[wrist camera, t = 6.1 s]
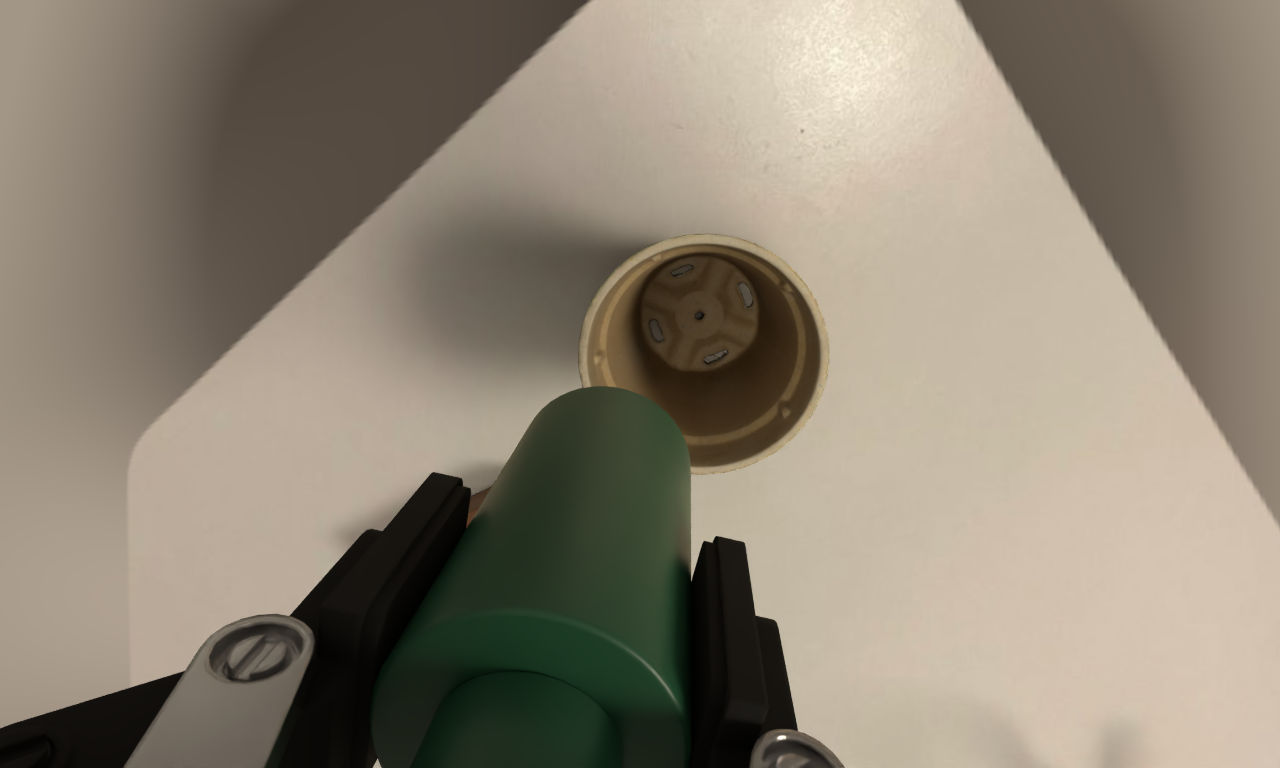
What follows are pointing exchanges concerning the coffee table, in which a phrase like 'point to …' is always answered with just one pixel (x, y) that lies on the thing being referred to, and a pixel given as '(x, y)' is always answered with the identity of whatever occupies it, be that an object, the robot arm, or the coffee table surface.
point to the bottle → (557, 607)
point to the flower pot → (711, 345)
